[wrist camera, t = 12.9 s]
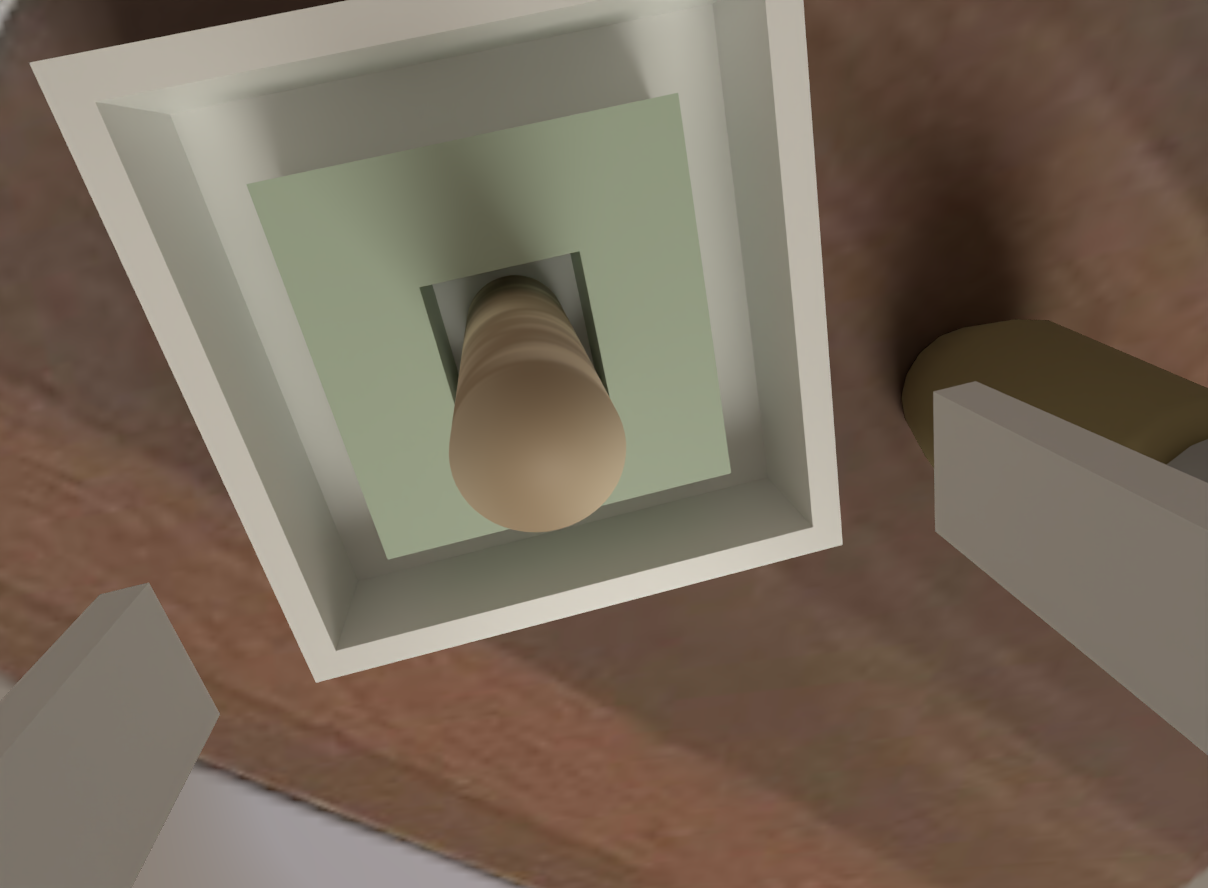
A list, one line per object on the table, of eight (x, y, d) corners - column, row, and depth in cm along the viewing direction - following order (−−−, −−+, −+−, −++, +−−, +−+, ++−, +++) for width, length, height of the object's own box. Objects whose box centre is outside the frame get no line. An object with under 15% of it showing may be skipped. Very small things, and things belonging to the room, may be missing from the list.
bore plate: (651, 103, 26) (678, 92, 23) (702, 437, 32) (731, 472, 28) (280, 181, 25) (246, 184, 22) (399, 513, 31) (387, 559, 27)
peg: (552, 265, 28) (607, 349, 15) (574, 359, 30) (639, 508, 17) (454, 287, 28) (426, 392, 15) (481, 381, 29) (476, 550, 16)
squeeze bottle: (852, 446, 34) (1192, 704, 18) (918, 284, 32) (1386, 411, 15) (988, 474, 36) (1409, 732, 20) (1060, 324, 34) (1614, 474, 17)
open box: (731, -34, 26) (797, -89, 20) (785, 484, 35) (842, 544, 29) (132, 86, 24) (29, 62, 19) (344, 596, 33) (316, 682, 28)
